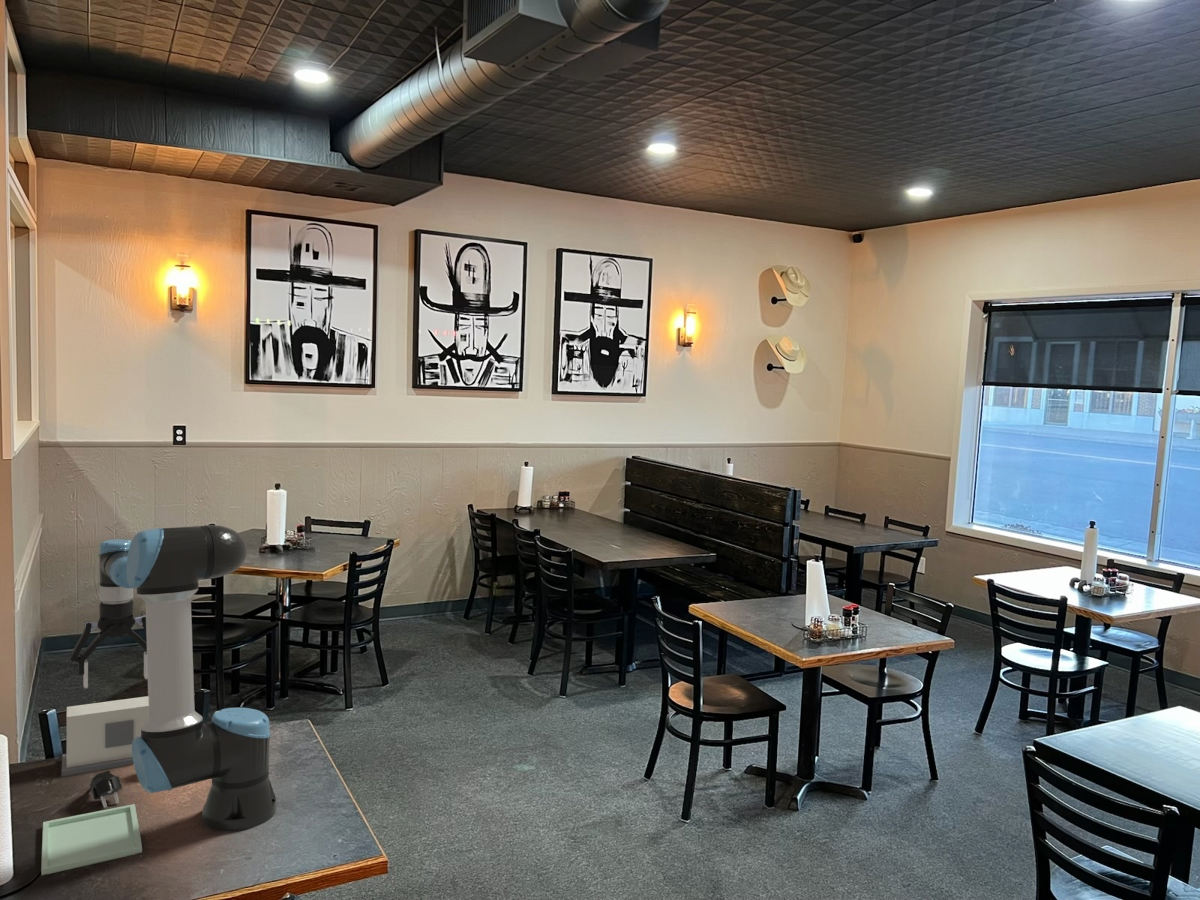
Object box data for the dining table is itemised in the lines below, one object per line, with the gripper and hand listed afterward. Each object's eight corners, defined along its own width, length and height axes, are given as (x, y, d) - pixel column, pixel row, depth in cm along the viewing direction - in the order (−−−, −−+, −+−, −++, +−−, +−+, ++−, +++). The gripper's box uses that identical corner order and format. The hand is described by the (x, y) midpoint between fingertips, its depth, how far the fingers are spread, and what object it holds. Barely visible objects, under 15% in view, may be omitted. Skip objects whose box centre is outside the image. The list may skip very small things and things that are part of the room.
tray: (142, 854, 171) (142, 847, 171) (41, 877, 162) (41, 869, 162) (134, 810, 188) (134, 803, 188) (43, 828, 179) (43, 821, 179)
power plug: (101, 782, 198) (120, 764, 192) (110, 813, 196) (129, 796, 190) (75, 791, 194) (93, 772, 187) (83, 823, 191) (102, 805, 185)
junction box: (170, 743, 223) (171, 691, 222) (174, 758, 214) (174, 704, 213) (62, 760, 210) (62, 705, 209) (61, 777, 202) (61, 720, 201)
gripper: (168, 592, 227) (167, 669, 229) (57, 602, 212) (57, 685, 214) (173, 598, 221) (172, 678, 222) (59, 609, 206) (60, 695, 208)
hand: (116, 682), depth 218 cm, fingers open, 13 cm apart
